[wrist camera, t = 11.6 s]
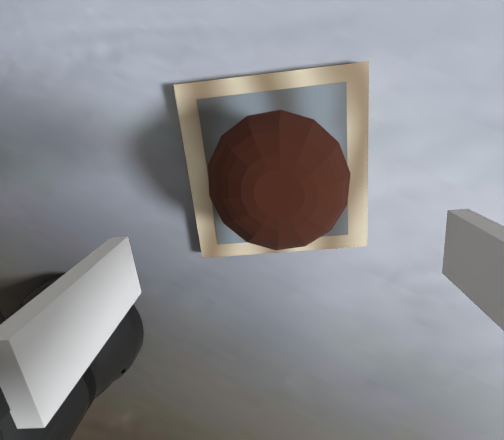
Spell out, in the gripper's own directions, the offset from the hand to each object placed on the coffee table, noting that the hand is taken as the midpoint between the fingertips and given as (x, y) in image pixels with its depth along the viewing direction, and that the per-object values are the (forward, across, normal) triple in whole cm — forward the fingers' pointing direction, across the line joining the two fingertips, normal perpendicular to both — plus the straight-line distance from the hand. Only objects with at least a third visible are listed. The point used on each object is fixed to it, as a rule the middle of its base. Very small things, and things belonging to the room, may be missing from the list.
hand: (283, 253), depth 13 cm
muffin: (+20, 0, 0) cm, 20 cm away
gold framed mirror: (+22, 0, 0) cm, 22 cm away
